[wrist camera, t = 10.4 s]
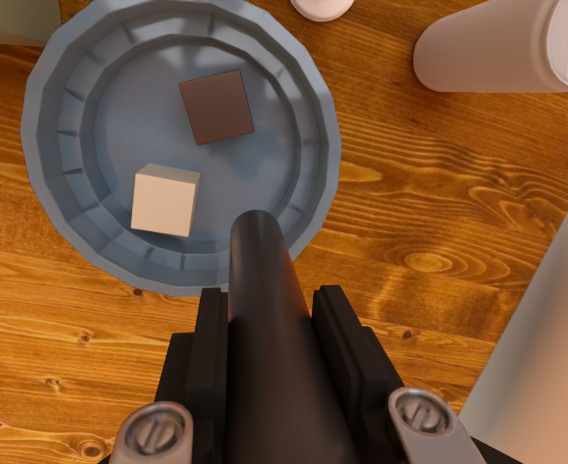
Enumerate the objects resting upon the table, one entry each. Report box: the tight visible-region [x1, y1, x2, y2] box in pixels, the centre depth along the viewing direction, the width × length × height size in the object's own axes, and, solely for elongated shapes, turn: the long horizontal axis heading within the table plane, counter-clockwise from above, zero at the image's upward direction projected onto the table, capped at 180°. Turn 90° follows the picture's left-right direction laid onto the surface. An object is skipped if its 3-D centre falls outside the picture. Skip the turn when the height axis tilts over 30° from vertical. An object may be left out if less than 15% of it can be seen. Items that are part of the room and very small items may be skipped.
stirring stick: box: [222, 210, 361, 464], centre depth 12 cm, size 3×3×14 cm
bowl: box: [20, 0, 342, 297], centre depth 23 cm, size 18×18×6 cm
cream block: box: [131, 163, 201, 237], centre depth 24 cm, size 4×4×4 cm
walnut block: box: [178, 69, 255, 146], centre depth 23 cm, size 4×4×4 cm
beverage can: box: [413, 0, 568, 93], centre depth 20 cm, size 5×5×12 cm
